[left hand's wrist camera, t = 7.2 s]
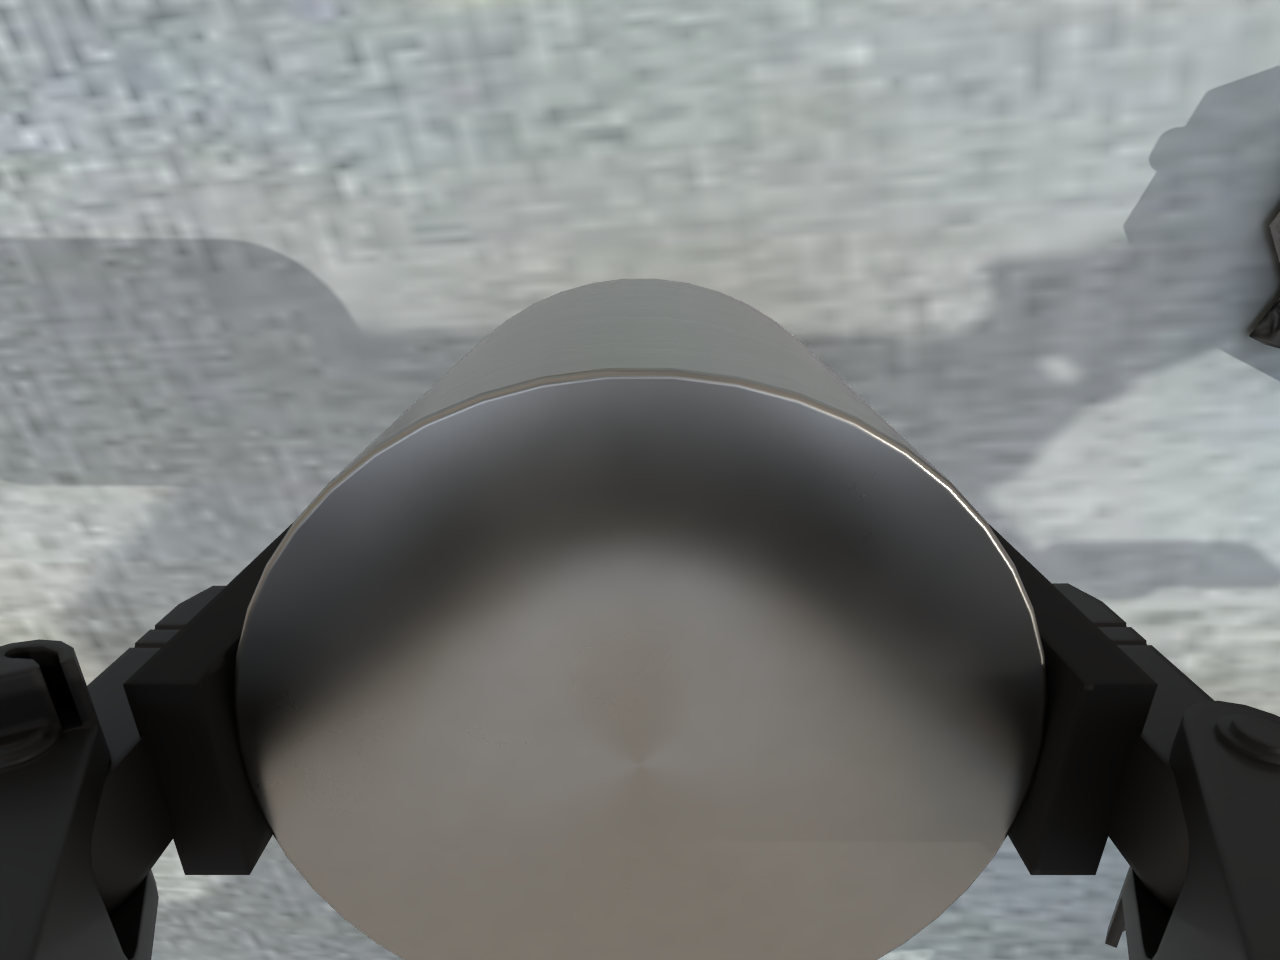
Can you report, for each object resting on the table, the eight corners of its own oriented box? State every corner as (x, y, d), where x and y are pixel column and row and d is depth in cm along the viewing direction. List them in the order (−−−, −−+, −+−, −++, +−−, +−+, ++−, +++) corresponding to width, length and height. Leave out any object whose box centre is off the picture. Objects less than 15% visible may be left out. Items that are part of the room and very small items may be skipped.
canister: (522, 721, 17) (442, 1078, 10) (344, 368, 14) (54, 539, 7) (897, 617, 16) (1091, 937, 9) (798, 207, 13) (981, 224, 6)
